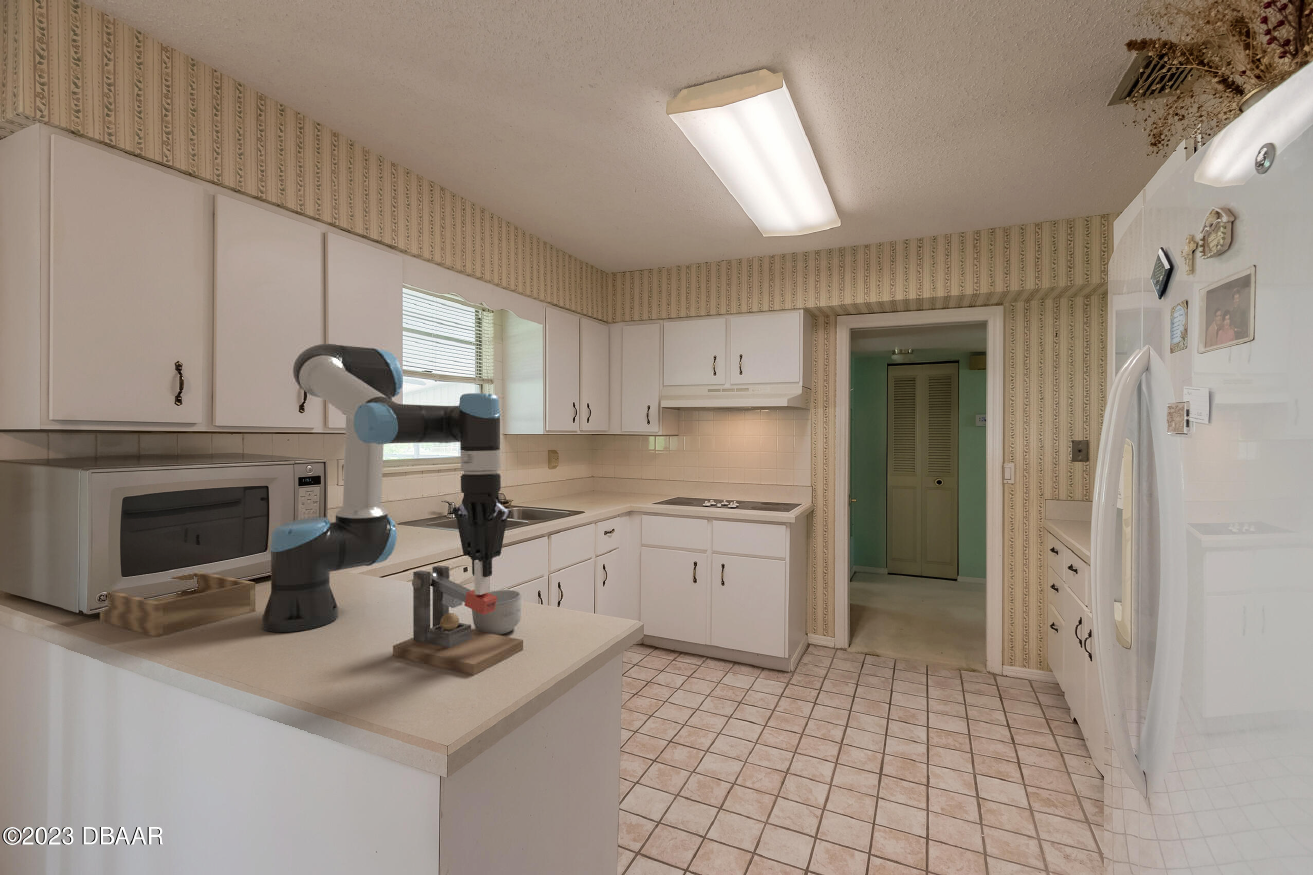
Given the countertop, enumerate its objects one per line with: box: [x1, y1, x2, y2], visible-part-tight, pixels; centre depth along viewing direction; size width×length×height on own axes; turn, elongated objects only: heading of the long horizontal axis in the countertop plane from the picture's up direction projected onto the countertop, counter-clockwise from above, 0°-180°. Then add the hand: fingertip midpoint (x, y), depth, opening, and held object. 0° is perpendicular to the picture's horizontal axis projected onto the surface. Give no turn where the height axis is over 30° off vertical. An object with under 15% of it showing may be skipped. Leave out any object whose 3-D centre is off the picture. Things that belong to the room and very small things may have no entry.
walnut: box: [440, 612, 460, 631], centre depth 120 cm, size 4×4×4 cm
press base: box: [392, 564, 524, 676], centre depth 119 cm, size 21×14×16 cm, turn 64°
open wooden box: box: [99, 571, 256, 638], centre depth 142 cm, size 24×20×7 cm
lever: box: [430, 571, 497, 615], centre depth 119 cm, size 17×3×5 cm, turn 64°
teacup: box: [471, 587, 522, 636], centre depth 134 cm, size 14×11×8 cm
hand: (482, 592), depth 116 cm, fingers closed
